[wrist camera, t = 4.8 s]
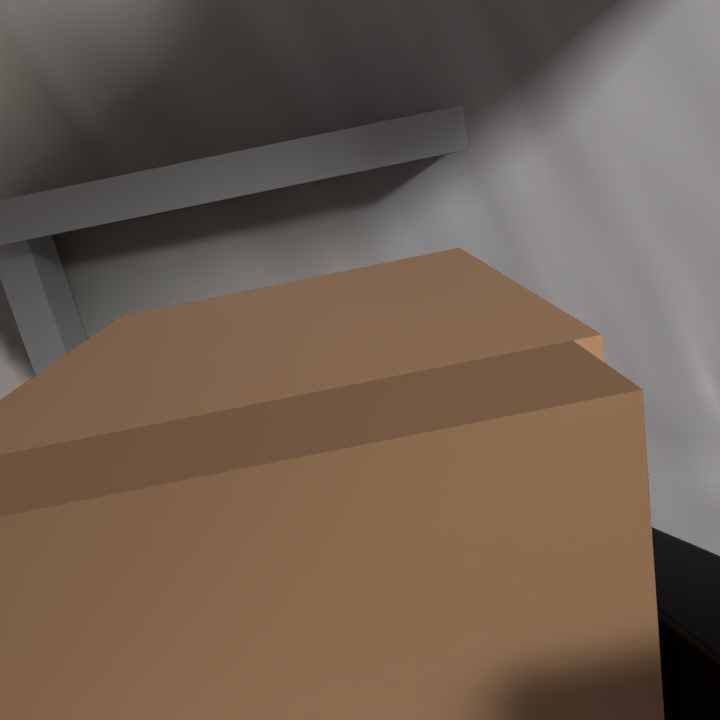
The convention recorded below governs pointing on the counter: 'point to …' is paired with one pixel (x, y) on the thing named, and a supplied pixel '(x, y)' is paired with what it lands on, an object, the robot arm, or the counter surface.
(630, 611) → the brown cardboard carton
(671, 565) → the robot arm
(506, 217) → the counter surface
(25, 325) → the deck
